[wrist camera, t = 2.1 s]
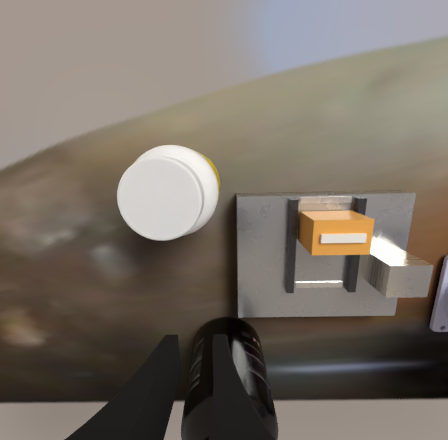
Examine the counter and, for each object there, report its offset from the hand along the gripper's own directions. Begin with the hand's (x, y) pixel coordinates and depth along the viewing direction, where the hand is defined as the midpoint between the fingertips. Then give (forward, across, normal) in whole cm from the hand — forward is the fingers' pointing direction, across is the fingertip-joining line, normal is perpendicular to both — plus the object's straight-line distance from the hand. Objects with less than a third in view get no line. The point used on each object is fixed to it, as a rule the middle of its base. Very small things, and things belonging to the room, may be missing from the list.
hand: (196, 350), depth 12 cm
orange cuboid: (+8, -10, -4) cm, 13 cm away
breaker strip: (+10, -10, -1) cm, 14 cm away
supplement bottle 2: (+11, -2, +9) cm, 14 cm away
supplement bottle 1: (+11, +2, -8) cm, 13 cm away
